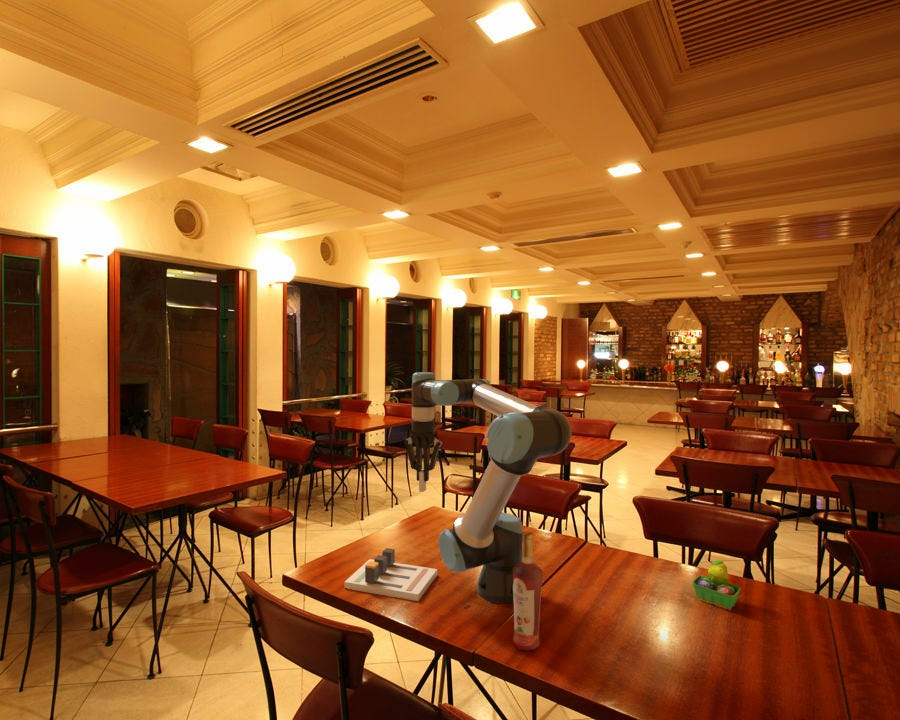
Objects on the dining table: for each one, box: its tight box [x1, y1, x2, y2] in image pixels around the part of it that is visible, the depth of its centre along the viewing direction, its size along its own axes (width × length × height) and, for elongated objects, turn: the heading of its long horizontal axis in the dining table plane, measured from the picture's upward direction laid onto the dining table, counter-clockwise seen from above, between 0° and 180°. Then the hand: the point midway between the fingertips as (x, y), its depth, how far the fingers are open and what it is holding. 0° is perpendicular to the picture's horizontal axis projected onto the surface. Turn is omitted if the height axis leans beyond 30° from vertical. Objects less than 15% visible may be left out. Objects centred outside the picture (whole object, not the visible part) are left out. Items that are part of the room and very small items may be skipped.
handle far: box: [381, 547, 396, 567], centre depth 161 cm, size 3×3×4 cm
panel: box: [344, 558, 438, 602], centre depth 154 cm, size 24×17×2 cm
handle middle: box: [373, 554, 387, 575], centre depth 155 cm, size 3×3×4 cm
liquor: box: [511, 531, 543, 652], centre depth 121 cm, size 7×7×28 cm
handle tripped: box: [365, 561, 379, 583], centre depth 149 cm, size 3×3×5 cm
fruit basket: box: [691, 559, 742, 610], centre depth 144 cm, size 11×9×11 cm
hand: (422, 490), depth 162 cm, fingers closed
